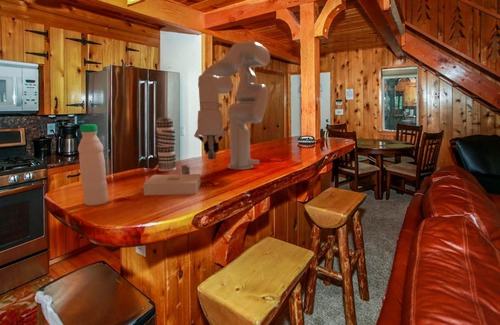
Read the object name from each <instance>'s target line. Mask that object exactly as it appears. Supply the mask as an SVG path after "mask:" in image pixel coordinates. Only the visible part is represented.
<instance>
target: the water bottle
mask: <svg viewBox="0 0 500 325" xmlns="http://www.w3.org/2000/svg"><path fill="white" fill-rule="evenodd" d="M79 131H80V134H81V136H82V137H81V139H80V141H79V144H78V147H77V151H78V153H79V154H78V159H79V160H78V161H79V170H80V178H81V181H82V183H81V188H82V192H83V193H82V194H83V198H82V199H83V204H84V205H85V206H89V207H95V206H101V205H103V204H106V203H108V201H109V192H108V182H107V179H106V178H107V177H106V176H107V172H106V170H107V169H106V161H105V155H104V145H103V144H102V142H101V140H100V138H99V137H98V136H97V135H98V132H99V131H98V125H97V124H93V123H85V124H81V125H79Z"/></svg>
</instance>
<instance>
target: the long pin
mask: <svg viewBox="0 0 500 325" xmlns="http://www.w3.org/2000/svg"><path fill="white" fill-rule="evenodd" d="M206 141H207V148H208V153H207V159H208V160H216V157H217V156H216V155H217V154H216V152H215V141H216V139H215V135H208V136H207V138H206Z"/></svg>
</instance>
